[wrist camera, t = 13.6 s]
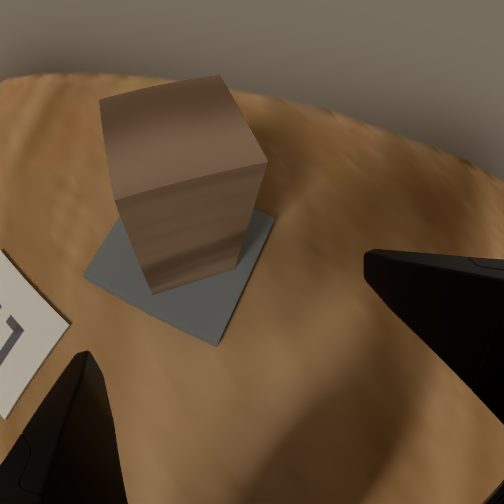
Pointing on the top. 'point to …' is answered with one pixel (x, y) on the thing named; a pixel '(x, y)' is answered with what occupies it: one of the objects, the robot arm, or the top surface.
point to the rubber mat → (184, 297)
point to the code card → (23, 334)
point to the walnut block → (182, 177)
